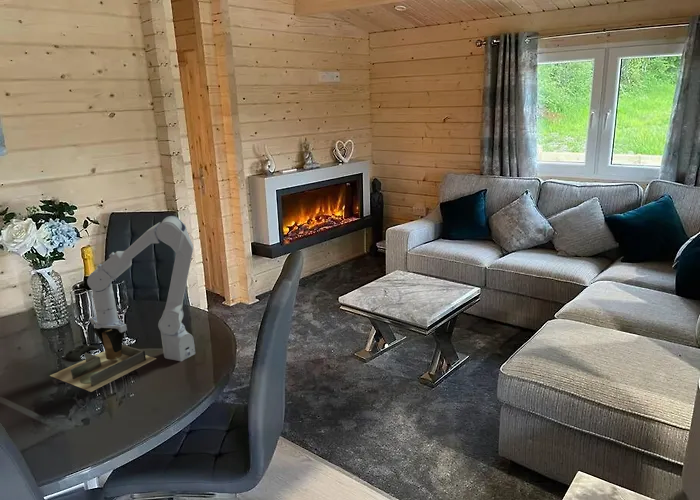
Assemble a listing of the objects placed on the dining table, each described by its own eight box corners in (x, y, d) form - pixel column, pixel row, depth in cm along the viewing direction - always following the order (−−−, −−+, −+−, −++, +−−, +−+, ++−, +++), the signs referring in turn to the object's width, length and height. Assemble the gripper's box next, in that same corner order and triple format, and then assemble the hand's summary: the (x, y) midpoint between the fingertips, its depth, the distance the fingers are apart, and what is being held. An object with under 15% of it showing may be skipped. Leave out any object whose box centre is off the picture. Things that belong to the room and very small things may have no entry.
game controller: (81, 362, 161) (66, 349, 161) (72, 373, 163) (58, 360, 162) (101, 348, 170) (87, 336, 170) (93, 358, 172) (79, 346, 171)
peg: (124, 354, 161) (120, 330, 159) (112, 360, 157) (107, 336, 155) (115, 352, 163) (111, 328, 161) (103, 357, 159) (98, 333, 157)
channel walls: (146, 360, 160) (144, 351, 159) (92, 386, 145) (90, 376, 145) (113, 349, 168) (112, 341, 167) (60, 374, 153) (58, 364, 153)
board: (157, 361, 161) (156, 357, 161) (91, 395, 143) (90, 390, 143) (116, 348, 171) (115, 345, 171) (50, 378, 153) (49, 374, 153)
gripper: (78, 308, 156) (86, 349, 160) (108, 316, 149) (116, 359, 153) (100, 300, 162) (107, 340, 166) (129, 308, 155) (136, 349, 158)
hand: (112, 349), depth 159 cm, fingers closed on peg, 4 cm apart
